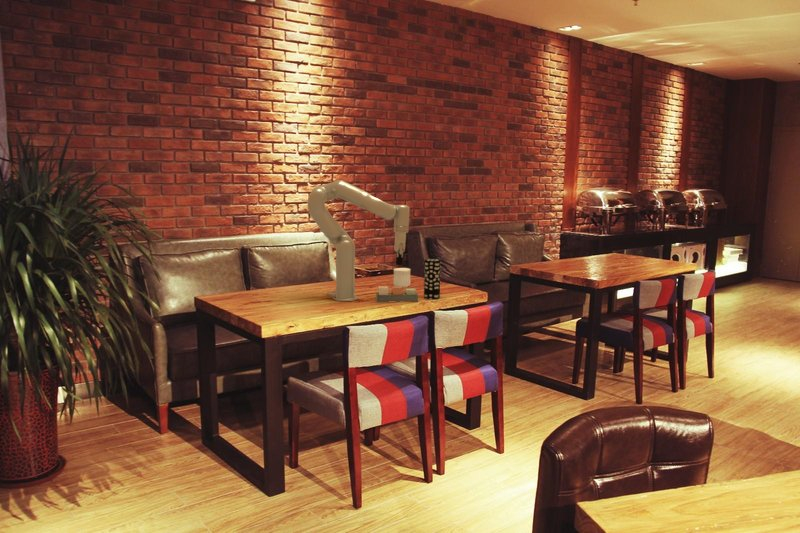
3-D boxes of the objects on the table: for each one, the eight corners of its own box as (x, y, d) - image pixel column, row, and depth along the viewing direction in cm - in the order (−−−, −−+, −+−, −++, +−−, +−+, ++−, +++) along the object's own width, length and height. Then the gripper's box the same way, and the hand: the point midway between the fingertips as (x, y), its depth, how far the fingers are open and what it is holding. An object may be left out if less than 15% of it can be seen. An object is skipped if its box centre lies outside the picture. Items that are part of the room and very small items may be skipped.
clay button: (392, 297, 326) (392, 288, 325) (391, 295, 330) (391, 286, 330) (402, 297, 326) (402, 287, 326) (401, 295, 331) (401, 286, 330)
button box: (376, 302, 324) (377, 295, 324) (376, 299, 331) (376, 292, 330) (417, 301, 326) (418, 295, 326) (416, 299, 333) (416, 292, 333)
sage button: (406, 300, 327) (406, 290, 326) (405, 298, 331) (405, 288, 331) (415, 299, 327) (415, 290, 326) (414, 297, 332) (414, 288, 331)
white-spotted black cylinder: (438, 299, 332) (439, 261, 329) (422, 299, 333) (423, 260, 330) (440, 296, 340) (441, 259, 337) (425, 295, 341) (425, 258, 338)
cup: (391, 286, 365) (391, 269, 364) (396, 283, 375) (396, 267, 373) (407, 288, 363) (407, 270, 361) (412, 284, 372) (412, 268, 371)
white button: (378, 297, 325) (378, 288, 324) (378, 296, 330) (378, 286, 329) (388, 297, 326) (388, 288, 325) (387, 295, 330) (387, 286, 329)
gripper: (392, 227, 336) (390, 262, 339) (394, 230, 321) (393, 266, 324) (407, 228, 337) (405, 262, 339) (409, 231, 322) (407, 267, 325)
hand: (399, 264), depth 332 cm, fingers closed
